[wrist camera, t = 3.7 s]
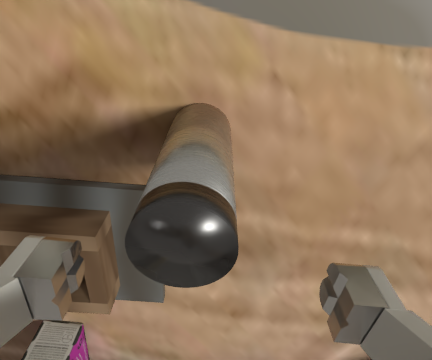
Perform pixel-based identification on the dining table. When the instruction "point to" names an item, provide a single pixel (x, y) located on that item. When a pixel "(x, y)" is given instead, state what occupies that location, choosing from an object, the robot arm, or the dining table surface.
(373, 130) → the dining table surface
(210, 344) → the dining table surface
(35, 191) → the hitch block
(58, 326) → the candy bar box
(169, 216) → the steel pin
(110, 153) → the dining table surface
